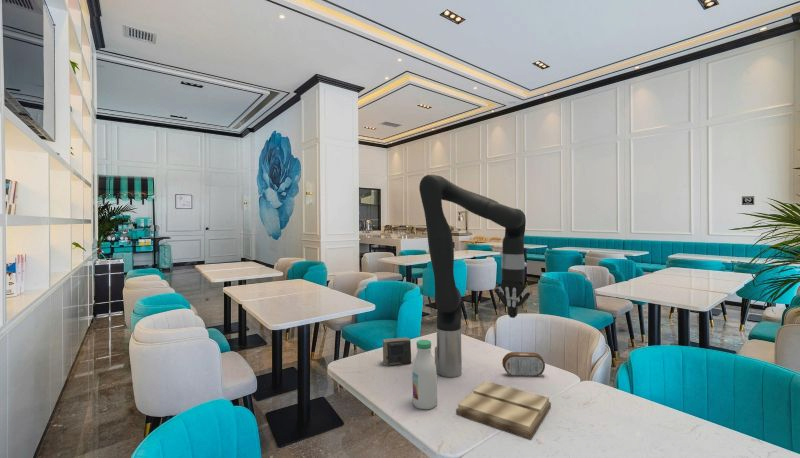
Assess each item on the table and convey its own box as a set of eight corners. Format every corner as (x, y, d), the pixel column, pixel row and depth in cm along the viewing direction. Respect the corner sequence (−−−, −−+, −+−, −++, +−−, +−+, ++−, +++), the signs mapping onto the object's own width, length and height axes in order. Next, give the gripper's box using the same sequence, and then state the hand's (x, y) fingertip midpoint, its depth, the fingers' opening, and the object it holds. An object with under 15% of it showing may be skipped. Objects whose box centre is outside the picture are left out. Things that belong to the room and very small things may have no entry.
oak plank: (473, 395, 117) (473, 390, 117) (484, 384, 124) (484, 380, 124) (540, 414, 105) (540, 409, 105) (548, 402, 112) (548, 397, 112)
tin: (543, 374, 135) (543, 351, 135) (546, 377, 132) (545, 354, 132) (502, 373, 137) (501, 351, 137) (503, 377, 134) (503, 354, 134)
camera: (409, 359, 152) (409, 336, 152) (412, 365, 146) (411, 340, 146) (382, 361, 150) (382, 337, 150) (383, 367, 145) (383, 342, 145)
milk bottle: (439, 399, 118) (438, 338, 117) (434, 412, 111) (432, 346, 110) (416, 396, 120) (415, 336, 120) (409, 408, 113) (408, 344, 113)
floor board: (456, 414, 109) (455, 404, 109) (483, 388, 125) (483, 379, 125) (530, 439, 96) (530, 428, 96) (550, 407, 112) (550, 397, 112)
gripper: (536, 267, 123) (535, 318, 124) (498, 264, 131) (498, 311, 132) (528, 269, 117) (528, 323, 118) (490, 266, 125) (489, 316, 126)
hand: (512, 317), depth 125 cm, fingers closed
